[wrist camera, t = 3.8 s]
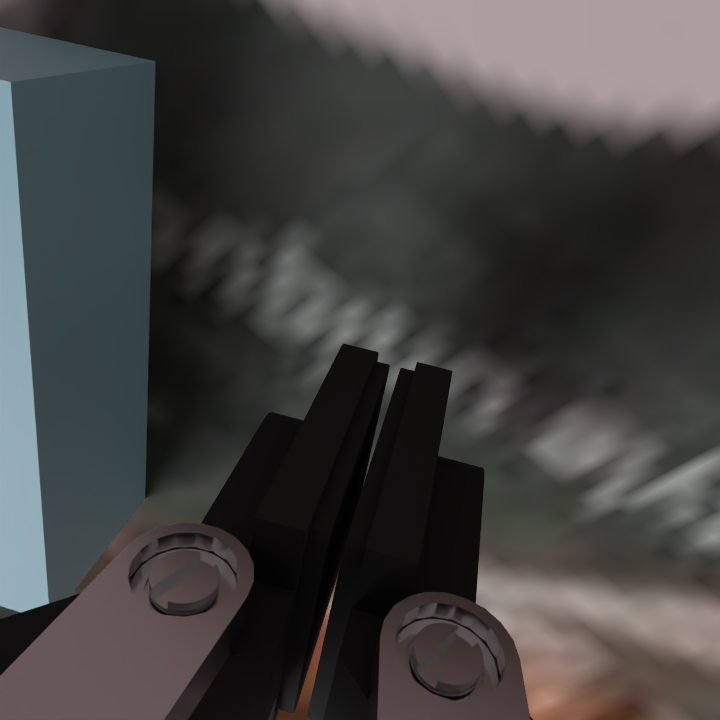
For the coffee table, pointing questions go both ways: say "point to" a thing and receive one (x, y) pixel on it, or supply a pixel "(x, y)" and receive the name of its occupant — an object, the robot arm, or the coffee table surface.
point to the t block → (71, 307)
